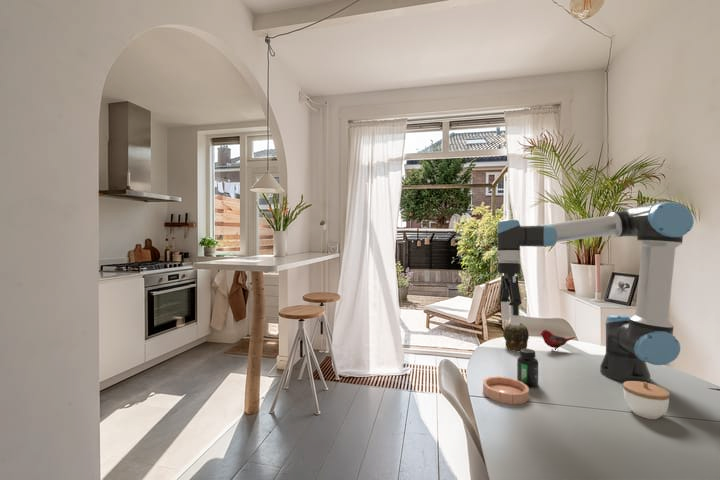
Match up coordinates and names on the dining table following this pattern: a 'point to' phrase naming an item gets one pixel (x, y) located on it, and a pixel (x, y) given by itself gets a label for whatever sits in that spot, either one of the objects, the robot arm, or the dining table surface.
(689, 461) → the dining table surface
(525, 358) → the supplement bottle
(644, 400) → the lidded jar
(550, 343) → the decorative bird figurine
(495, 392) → the terracotta dish
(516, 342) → the brown rounded lump
